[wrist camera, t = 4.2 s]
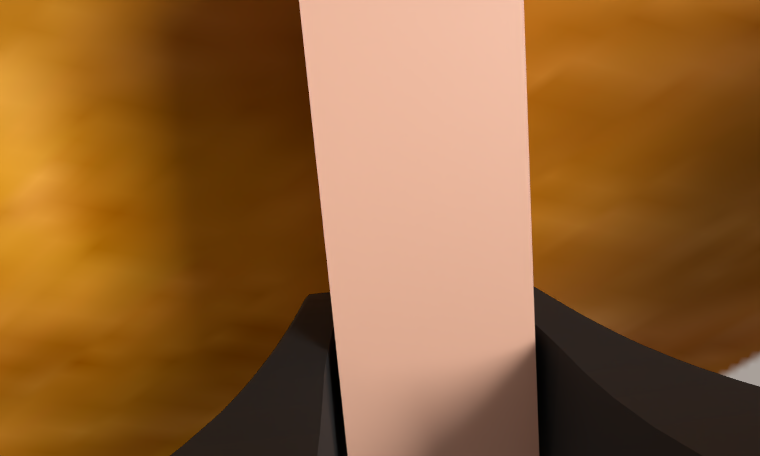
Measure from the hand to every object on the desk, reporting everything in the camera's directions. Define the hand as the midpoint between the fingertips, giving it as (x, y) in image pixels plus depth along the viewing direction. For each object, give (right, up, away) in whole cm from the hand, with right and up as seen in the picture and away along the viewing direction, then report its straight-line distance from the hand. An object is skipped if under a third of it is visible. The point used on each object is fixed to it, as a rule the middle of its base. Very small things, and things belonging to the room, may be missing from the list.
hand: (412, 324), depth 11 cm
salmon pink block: (-1, +4, +2) cm, 5 cm away
